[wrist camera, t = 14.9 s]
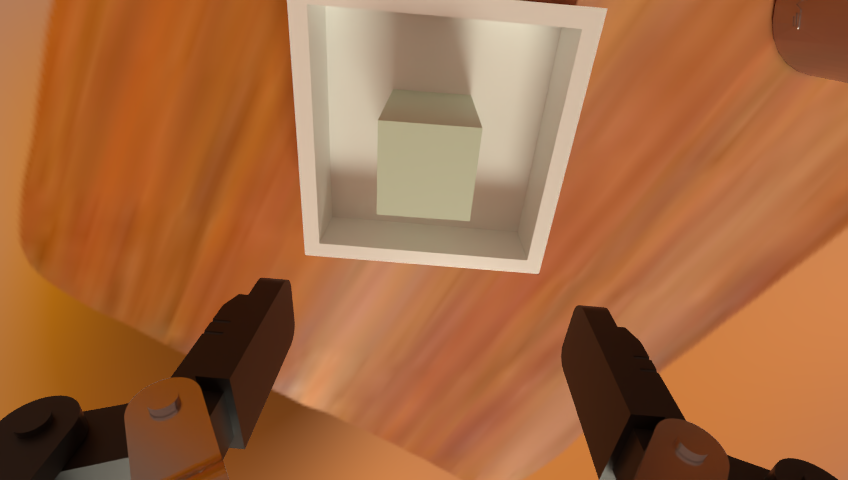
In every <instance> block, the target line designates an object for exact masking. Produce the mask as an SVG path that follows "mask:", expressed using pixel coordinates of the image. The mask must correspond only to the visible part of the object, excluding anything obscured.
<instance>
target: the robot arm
mask: <svg viewBox="0 0 848 480" xmlns="http://www.w3.org/2000/svg"><path fill="white" fill-rule="evenodd" d="M773 35H774V41H775V44H776V47H777V49H778V52H779V54H780V55H781V56H782V58H783V59H784V61H785V62H786V63H787V64H788V65H790V66H791V67H792V68H794V69H795V70H797V71H799V72H802V73H805V74H808V75H811V76H816V77H821V78H826V79H831V80H836V81H841V82H846V83H848V0H777V1H776V4H775V9H774V16H773ZM294 327H295V322H294V312H293V302H292V291H291V284H290V281H289V280H283V279H271V278H260V279H259V280H258V281H257V283H256V284H255V286H254V287H253V289H252V290H251V292H250V293H249V295H243V294H238V295H237V296H236V297H234V298H233V299H231V300H230V301H228V302H227V303H226V304H224V305H223V306H222V307H221V309H220V310H219V311H218V313H217V314H216V316H215V317H214V318H213V322H210V324H209V325H208V327H207V328H206V329H205V332H204V334H202V335H201V336H200V338H199V339H198V340H197V342H196V343H195V345H194V346H193V347H192V349H191V350H190V352H189V353H188V354H187V356H186V357H185V359H184V360H183V361H182V363H181V364H180V366H179V367H178V368H177V370H176V371H175V372H174V374H173V375H172V376H171V378H168V379H164V380H160V381H158V382H156V383H153V384H151V385H149V386H147V387H146V388H144V389H143V390H142V391H140V392H139V393H138V394H136V396H134V398H133V399H132V400H131V401H130V402H129V403H128V404H124V405H118V406H112V407H106V408H101V409H96V410H89V411H84V412H83V411H82V409H81V407H80V405H79V403H78V402H77V401H76V400H75V399H73V398H71V397H68V396H51V397H45V398H41V399H38V400H35V401H33V402H30V403H28V404H25V405H23V406H21V407H20V408H18V409H16V410H14V411H13V412H11V413H10V414H8V415H7V416H6V417H4V418H3V419H2V420H1V421H0V480H229V477H228V474H227V471H226V468H225V464H224V462H223V459H224V457H225V455H226V452H227V451H228V448H239V449H245V447H246V445H247V443H248V441H249V438H250V436H251V434H252V432H253V429H254V427H255V425H256V423H257V420H258V418H259V416H260V413H261V411H262V409H263V407H264V405H265V402H266V400H267V398H268V395H269V393H270V391H271V389H272V386H273V384H274V382H275V380H276V377H277V375H278V373H279V371H280V368H281V366H282V364H283V362H284V359H285V357H286V355H287V353H288V350H289V348H290V346H291V343H292V340H293V335H294ZM561 359H562V367H563V371H564V374H565V377H566V380H567V383H568V386H569V389H570V392H571V395H572V398H573V401H574V404H575V407H576V411H577V414H578V417H579V420H580V423H581V426H582V429H583V432H584V435H585V438H586V441H587V444H588V447H589V450H590V454H591V457H592V460H593V463H594V466H595V469H596V472H597V475H598V478H599V480H838V479H836V478H835V477H834V476H832V475H831V474H829V473H828V472H826V471H825V470H823V469H821V468H819V467H817V466H815V465H813V464H811V463H809V462H806V461H803V460H799V459H793V458H787V459H782V460H780V461H779V462H778V463H777V464H776V465H775V466H774V467H773V469H772V470H771V471H770V470H767V469H765V468H762V467H759V466H756V465H753V464H750V463H748V462H745V461H742V460H739V459H736V458H733V457H731V456H728V455H727V454H726V452H725V451H724V449H723V448H722V446H721V445H720V444H719V443H718V441H717V440H716V439H715V438H713V437H712V436H711V435H710V434H709V433H708V432H706V431H705V430H703V429H702V428H700V427H699V426H697V425H695V424H693V423H690V422H687V421H686V420H685V418H684V416H683V415H682V413H681V411H680V409H679V408H678V406H677V404H676V402H675V401H674V399H673V397H672V396H671V394H670V392H669V390H668V389H667V387H666V385H665V383H664V382H663V380H662V378H661V377H660V375H659V373H657V372H656V368H655V366H654V364H653V363H652V361H651V360H649V356H648V354H647V352H646V351H645V349H644V347H643V345H642V344H641V342H640V341H639V340H638V339H637V338H636V337H635V336H634V335H633V334H631V333H630V332H629V331H628V330H627V329H626V328H624V327H617V325H616V323H615V321H614V320H613V318H612V316H611V314H610V312H609V310H608V309H607V308H604V307H593V306H581V305H578V306H576V308H575V309H574V312H573V315H572V318H571V321H570V324H569V327H568V331H567V334H566V337H565V340H564V343H563V346H562V354H561Z"/></svg>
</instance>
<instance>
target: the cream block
mask: <svg viewBox="0 0 848 480" xmlns="http://www.w3.org/2000/svg"><path fill="white" fill-rule="evenodd" d="M482 129H483V128H482V125H481V122H480V119H479V117H478V114H477V111H476V108H475V105H474V102H473V100H472V97H471V95H462V94H449V93H436V92H423V91H410V90H397V89H393V91H392V93H391V95H390V97H389V99H388V101H387V103H386V105H385V107H384V109H383V111H382V113H381V115H380V117H379V119H378V146H377V214H378V215H391V216H405V217H419V218H432V219H446V220H459V221H470V216H471V209H472V202H473V194H474V187H475V180H476V173H477V165H478V158H479V151H480V143H481V136H482Z"/></svg>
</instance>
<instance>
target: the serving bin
mask: <svg viewBox="0 0 848 480" xmlns="http://www.w3.org/2000/svg"><path fill="white" fill-rule="evenodd" d="M287 8H288V22H289V36H290V50H291V64H292V78H293V92H294V106H295V120H296V134H297V148H298V162H299V176H300V190H301V204H302V217H303V231H304V245H305V255H312V256H324V257H337V258H349V259H361V260H374V261H386V262H398V263H410V264H423V265H435V266H447V267H460V268H472V269H484V270H497V271H509V272H521V273H533V274H539V271H540V267H541V264H542V260H543V256H544V252H545V248H546V244H547V240H548V236H549V233H550V229H551V225H552V221H553V217H554V213H555V209H556V206H557V202H558V198H559V194H560V190H561V186H562V182H563V178H564V175H565V171H566V167H567V163H568V159H569V155H570V151H571V148H572V144H573V140H574V136H575V132H576V128H577V124H578V121H579V117H580V113H581V109H582V105H583V101H584V97H585V93H586V90H587V86H588V82H589V78H590V74H591V70H592V66H593V63H594V59H595V55H596V51H597V47H598V43H599V39H600V35H601V32H602V28H603V24H604V20H605V16H606V12H607V8H596V7H585V6H574V5H563V4H553V3H542V2H531V1H520V0H287ZM393 89H397V90H410V91H423V92H436V93H449V94H462V95H471V97H472V100H473V102H474V105H475V108H476V111H477V114H478V117H479V119H480V122H481V125H482V128H483V129H482V136H481V143H480V151H479V158H478V165H477V173H476V180H475V187H474V194H473V202H472V209H471V216H470V221H459V220H446V219H432V218H419V217H405V216H391V215H378V214H377V146H378V119H379V117H380V115H381V113H382V111H383V109H384V107H385V105H386V103H387V101H388V99H389V97H390V95H391V93H392V91H393Z"/></svg>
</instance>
